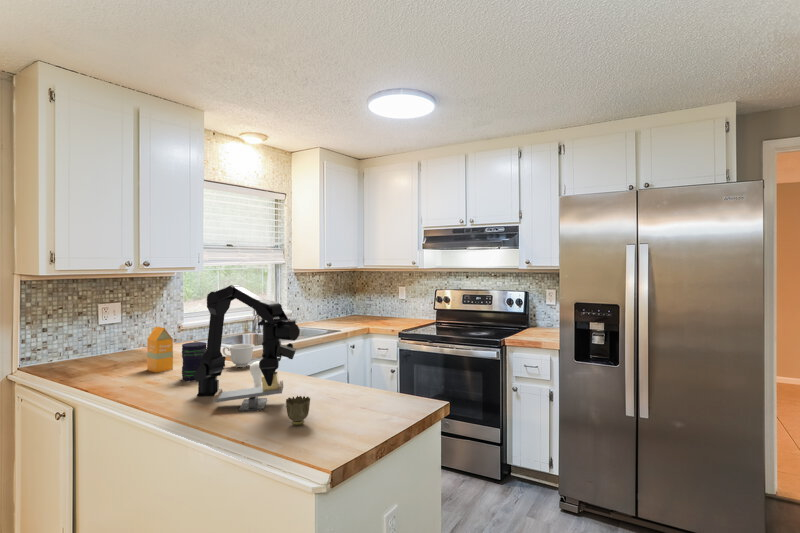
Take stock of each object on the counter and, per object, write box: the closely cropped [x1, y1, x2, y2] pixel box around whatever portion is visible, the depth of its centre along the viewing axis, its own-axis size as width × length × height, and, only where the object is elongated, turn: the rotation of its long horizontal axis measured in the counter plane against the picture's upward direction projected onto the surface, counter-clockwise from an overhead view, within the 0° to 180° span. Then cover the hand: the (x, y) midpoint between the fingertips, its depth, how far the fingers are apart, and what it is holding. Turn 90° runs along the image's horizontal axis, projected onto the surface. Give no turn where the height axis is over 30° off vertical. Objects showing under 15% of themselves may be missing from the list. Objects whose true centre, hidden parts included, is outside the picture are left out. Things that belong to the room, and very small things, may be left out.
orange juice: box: [146, 326, 174, 373], centre depth 207 cm, size 8×9×20 cm
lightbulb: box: [249, 360, 263, 388], centre depth 176 cm, size 6×6×11 cm
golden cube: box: [261, 371, 280, 391], centre depth 156 cm, size 5×5×5 cm
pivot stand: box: [238, 396, 268, 413], centre depth 155 cm, size 8×12×4 cm, turn 11°
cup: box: [285, 395, 311, 427], centre depth 137 cm, size 8×7×8 cm
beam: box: [213, 380, 284, 403], centre depth 155 cm, size 22×8×2 cm, turn 101°
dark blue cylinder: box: [181, 341, 207, 382], centre depth 192 cm, size 10×10×15 cm
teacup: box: [222, 343, 255, 368], centre depth 214 cm, size 12×15×10 cm
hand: (271, 382), depth 156 cm, fingers open, 9 cm apart
